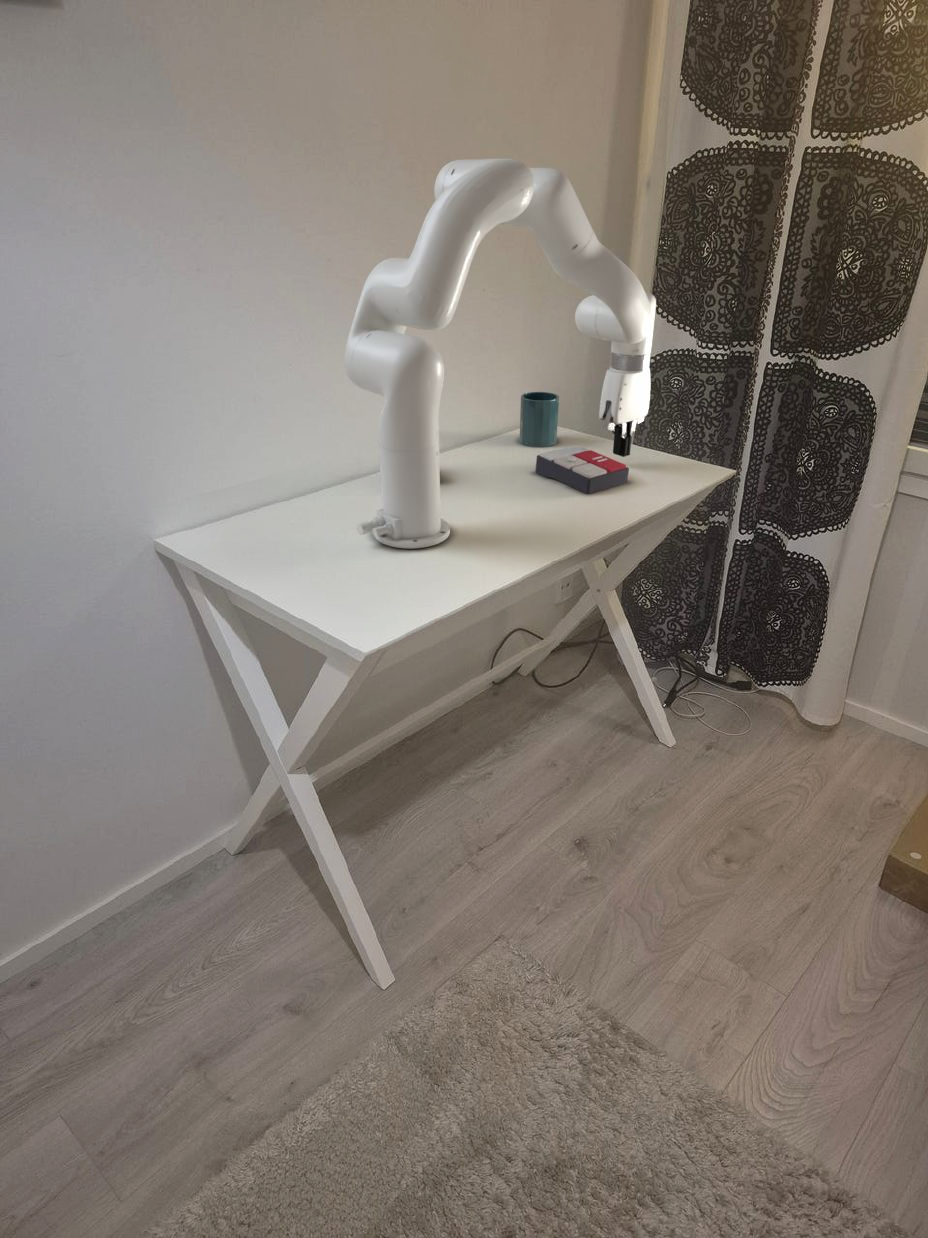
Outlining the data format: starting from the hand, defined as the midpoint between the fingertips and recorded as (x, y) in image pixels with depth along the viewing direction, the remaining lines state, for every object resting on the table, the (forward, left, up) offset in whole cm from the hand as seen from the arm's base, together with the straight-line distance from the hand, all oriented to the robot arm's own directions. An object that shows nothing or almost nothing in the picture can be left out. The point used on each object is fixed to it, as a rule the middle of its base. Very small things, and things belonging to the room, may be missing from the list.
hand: (621, 454), depth 163 cm
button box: (-11, 0, -3) cm, 12 cm away
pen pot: (-1, +23, -3) cm, 23 cm away
